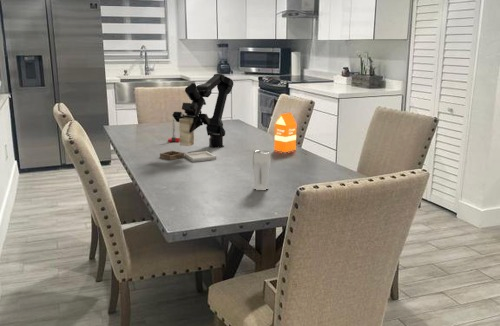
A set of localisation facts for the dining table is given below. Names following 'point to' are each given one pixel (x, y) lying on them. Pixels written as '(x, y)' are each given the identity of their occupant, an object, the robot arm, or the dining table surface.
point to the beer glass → (261, 169)
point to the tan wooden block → (186, 131)
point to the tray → (200, 156)
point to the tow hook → (174, 135)
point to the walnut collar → (171, 155)
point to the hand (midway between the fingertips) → (185, 131)
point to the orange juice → (285, 133)
